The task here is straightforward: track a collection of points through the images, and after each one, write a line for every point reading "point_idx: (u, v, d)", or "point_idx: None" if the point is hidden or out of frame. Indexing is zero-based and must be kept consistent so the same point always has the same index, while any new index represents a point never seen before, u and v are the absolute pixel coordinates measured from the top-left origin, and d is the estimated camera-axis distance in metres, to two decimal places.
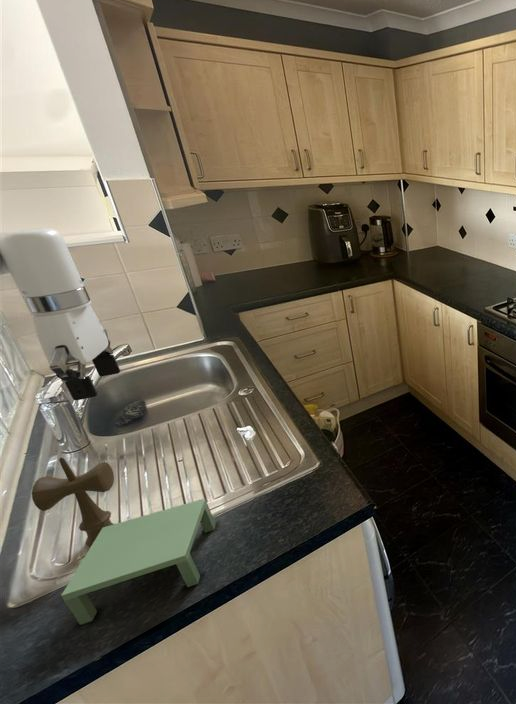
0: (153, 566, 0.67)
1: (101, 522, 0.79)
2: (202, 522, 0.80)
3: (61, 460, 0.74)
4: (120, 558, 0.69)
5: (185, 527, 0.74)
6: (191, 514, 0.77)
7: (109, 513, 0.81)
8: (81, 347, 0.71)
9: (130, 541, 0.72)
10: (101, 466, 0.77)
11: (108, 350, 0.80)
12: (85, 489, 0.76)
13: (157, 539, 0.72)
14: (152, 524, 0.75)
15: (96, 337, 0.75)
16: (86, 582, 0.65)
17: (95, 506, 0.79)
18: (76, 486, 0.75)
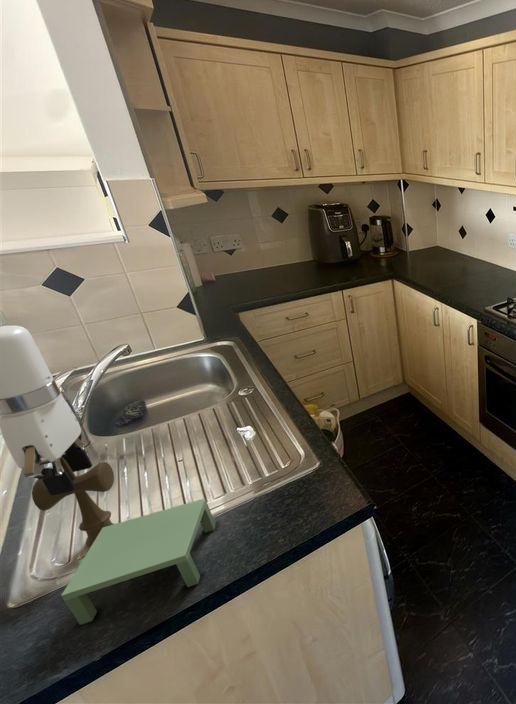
0: (153, 566, 0.67)
1: (101, 522, 0.79)
2: (202, 522, 0.80)
3: (61, 460, 0.74)
4: (120, 558, 0.69)
5: (185, 527, 0.74)
6: (191, 514, 0.77)
7: (109, 513, 0.81)
8: (50, 445, 0.69)
9: (130, 541, 0.72)
10: (101, 466, 0.77)
11: (79, 444, 0.77)
12: (85, 489, 0.76)
13: (157, 539, 0.72)
14: (152, 524, 0.75)
15: (67, 429, 0.73)
16: (86, 582, 0.65)
17: (95, 506, 0.79)
18: (76, 486, 0.75)
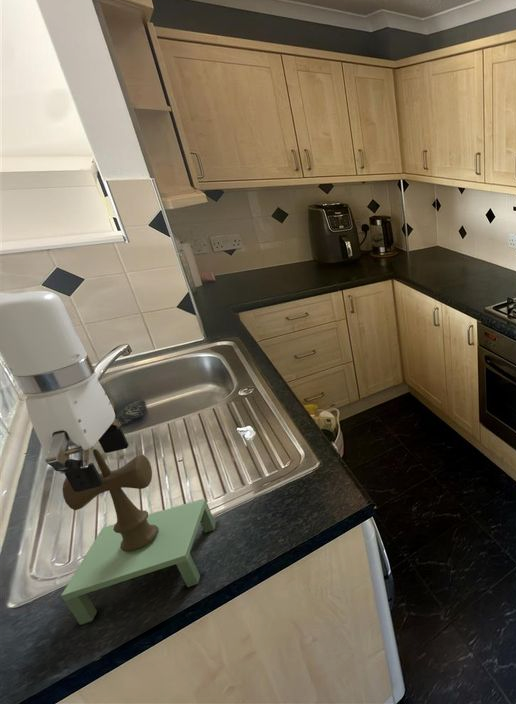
0: (153, 566, 0.67)
1: (139, 522, 0.69)
2: (202, 522, 0.80)
3: (95, 452, 0.64)
4: (120, 558, 0.69)
5: (185, 527, 0.74)
6: (191, 514, 0.77)
7: (146, 513, 0.71)
8: (84, 430, 0.60)
9: None
10: (139, 460, 0.68)
11: (115, 423, 0.68)
12: (122, 485, 0.66)
13: (157, 539, 0.72)
14: (152, 524, 0.75)
15: (101, 413, 0.64)
16: (86, 582, 0.65)
17: (131, 505, 0.69)
18: (112, 482, 0.66)
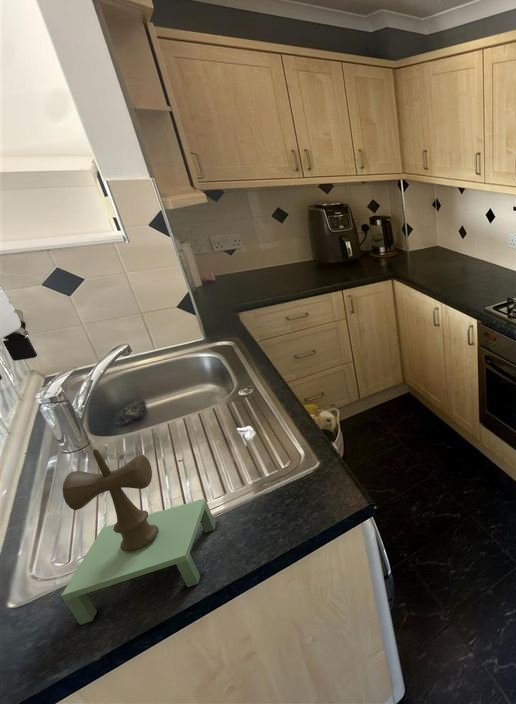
0: (153, 566, 0.67)
1: (139, 522, 0.69)
2: (202, 522, 0.80)
3: (95, 452, 0.64)
4: (120, 558, 0.69)
5: (185, 527, 0.74)
6: (191, 514, 0.77)
7: (146, 513, 0.71)
8: None
9: None
10: (139, 460, 0.68)
11: (21, 332, 0.74)
12: (122, 485, 0.66)
13: (157, 539, 0.72)
14: (152, 524, 0.75)
15: (3, 317, 0.70)
16: (86, 582, 0.65)
17: (131, 505, 0.69)
18: (112, 482, 0.66)
